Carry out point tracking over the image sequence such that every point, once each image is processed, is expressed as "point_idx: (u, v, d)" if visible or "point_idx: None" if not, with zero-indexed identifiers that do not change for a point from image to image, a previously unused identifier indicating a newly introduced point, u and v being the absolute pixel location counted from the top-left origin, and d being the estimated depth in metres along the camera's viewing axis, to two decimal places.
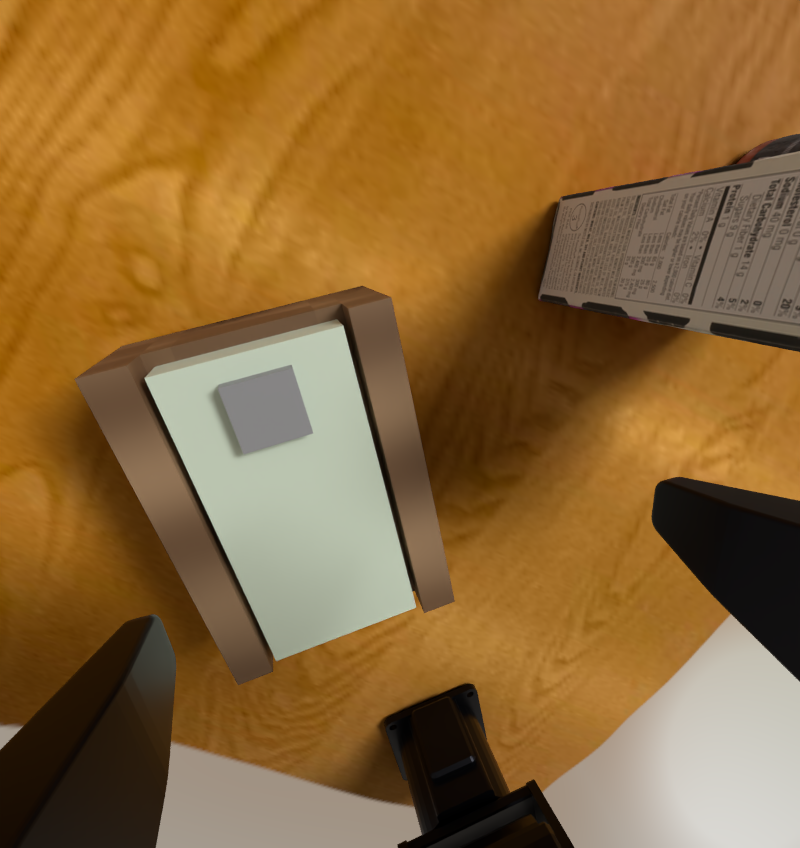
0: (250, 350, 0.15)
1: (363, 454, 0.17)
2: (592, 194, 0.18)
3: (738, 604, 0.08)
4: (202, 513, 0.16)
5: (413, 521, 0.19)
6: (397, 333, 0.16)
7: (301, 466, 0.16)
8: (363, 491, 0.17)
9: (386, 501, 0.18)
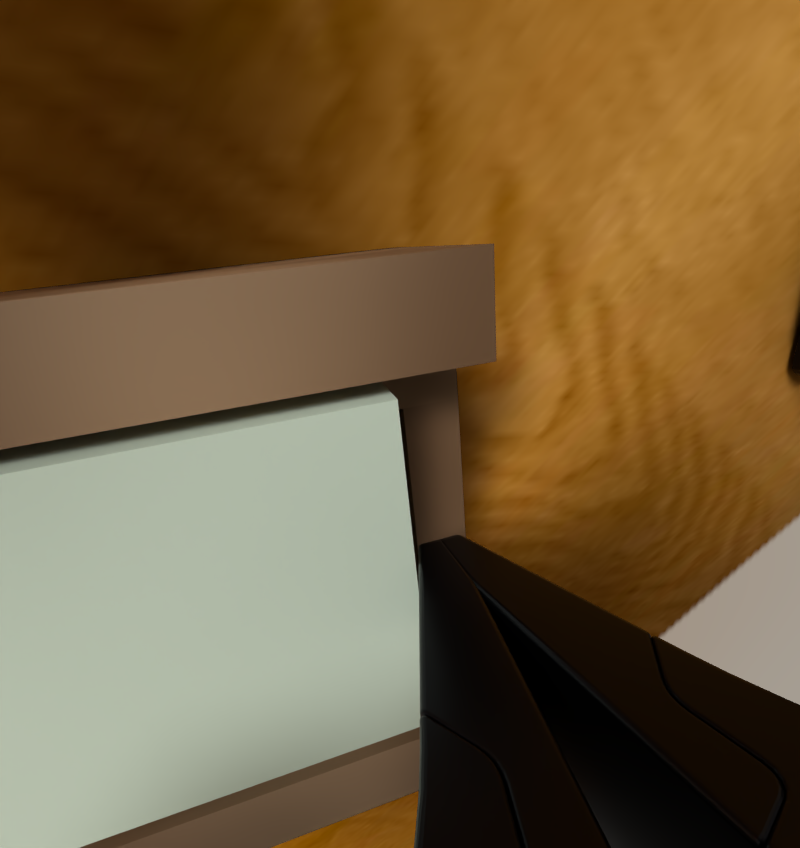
0: None
1: None
2: None
3: None
4: None
5: (74, 393, 0.05)
6: None
7: None
8: None
9: None
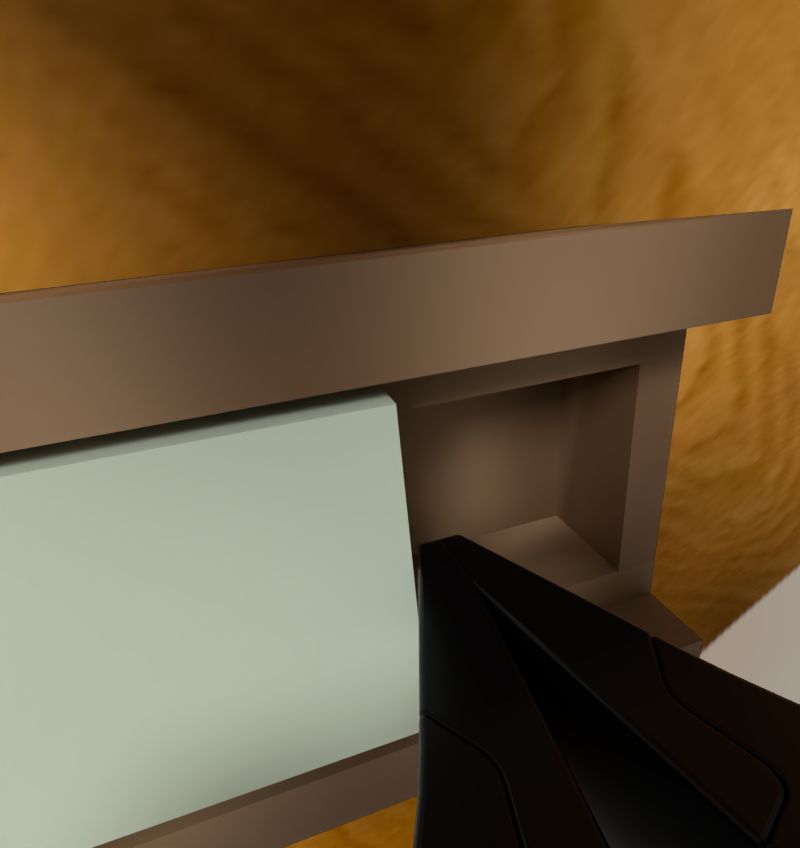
0: None
1: None
2: None
3: None
4: None
5: (476, 330, 0.06)
6: None
7: None
8: None
9: None
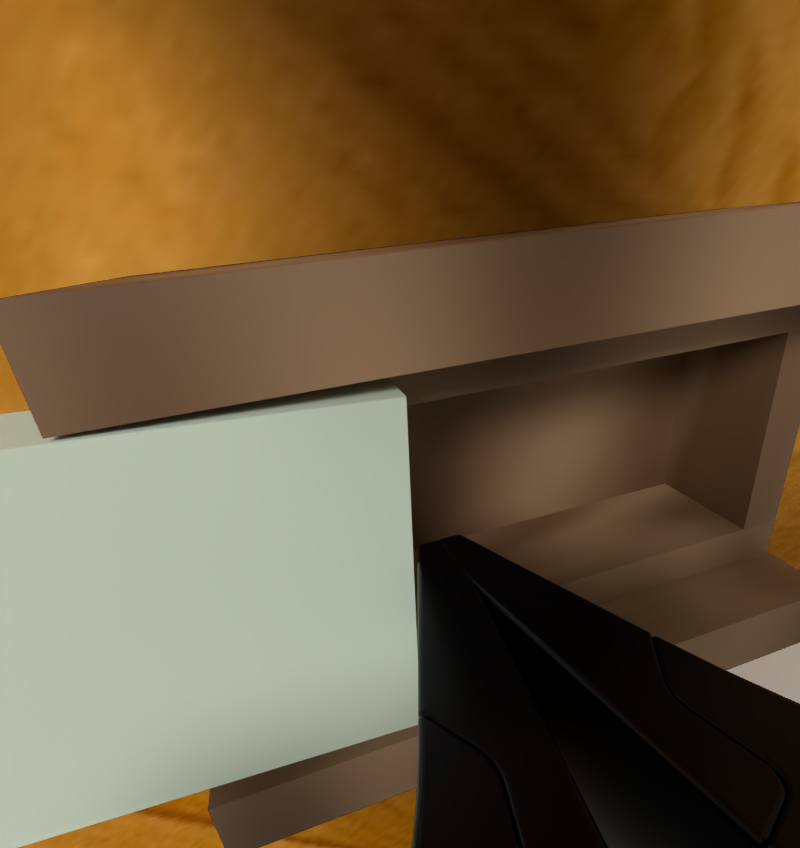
0: None
1: None
2: None
3: None
4: None
5: (705, 289, 0.07)
6: (118, 290, 0.05)
7: None
8: None
9: None
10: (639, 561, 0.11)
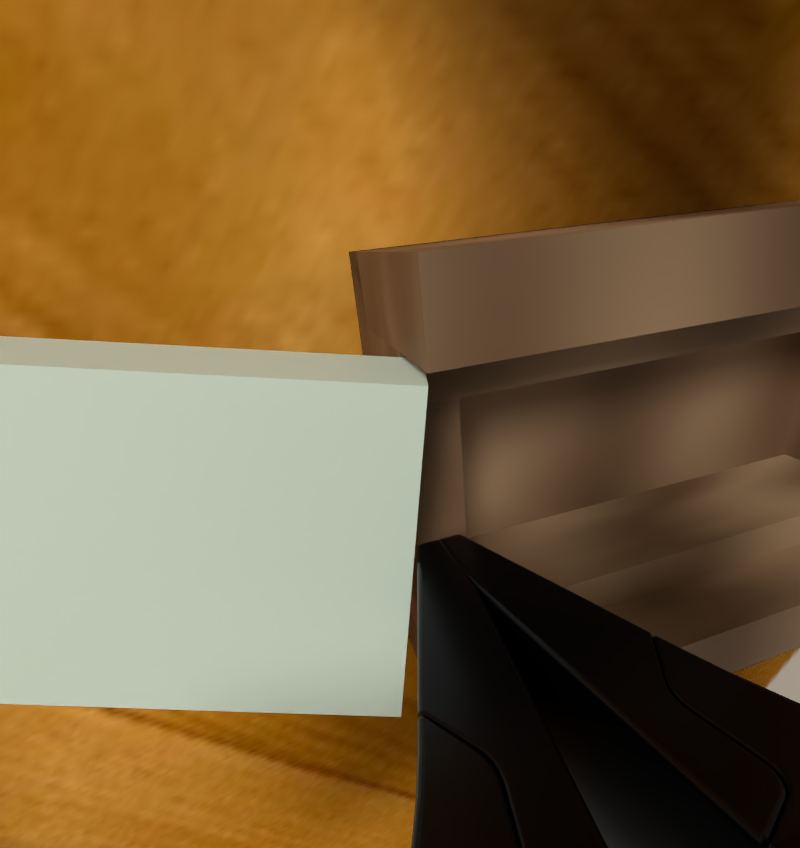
0: None
1: None
2: None
3: None
4: (691, 623, 0.10)
5: None
6: (512, 244, 0.06)
7: None
8: None
9: None
10: (790, 519, 0.12)
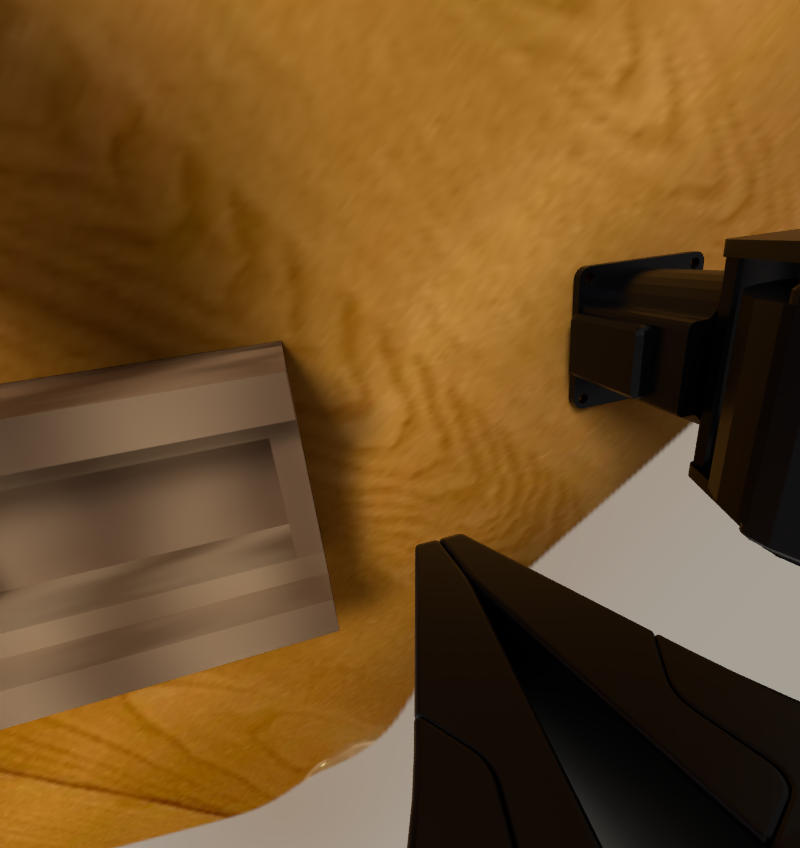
0: None
1: None
2: None
3: None
4: (86, 658, 0.15)
5: (106, 438, 0.12)
6: None
7: None
8: None
9: None
10: (211, 580, 0.16)
